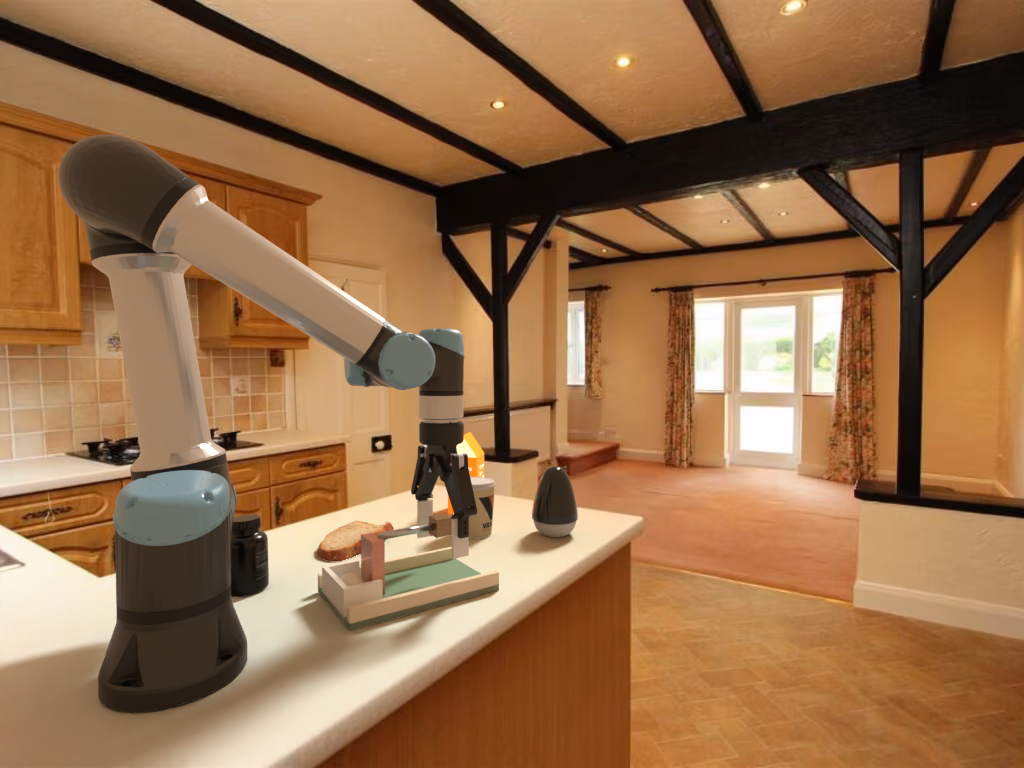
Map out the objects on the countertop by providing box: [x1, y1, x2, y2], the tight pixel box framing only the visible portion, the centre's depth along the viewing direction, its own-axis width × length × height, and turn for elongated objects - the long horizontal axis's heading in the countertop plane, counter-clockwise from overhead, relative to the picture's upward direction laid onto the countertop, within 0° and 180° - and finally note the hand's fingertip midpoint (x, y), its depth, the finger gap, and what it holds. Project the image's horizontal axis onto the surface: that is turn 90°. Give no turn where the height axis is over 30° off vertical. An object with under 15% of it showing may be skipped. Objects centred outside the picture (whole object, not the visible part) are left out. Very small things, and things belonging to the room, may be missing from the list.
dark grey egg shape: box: [531, 465, 579, 538], centre depth 121 cm, size 10×10×15 cm
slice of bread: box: [317, 520, 395, 562], centre depth 115 cm, size 18×18×4 cm
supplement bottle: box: [231, 513, 270, 598], centre depth 90 cm, size 7×7×12 cm
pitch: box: [317, 546, 500, 632], centre depth 90 cm, size 25×16×5 cm, turn 125°
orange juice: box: [447, 431, 485, 514], centre depth 142 cm, size 8×9×20 cm
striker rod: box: [360, 513, 452, 595], centre depth 90 cm, size 14×5×10 cm, turn 125°
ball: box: [341, 573, 364, 586], centre depth 84 cm, size 4×4×4 cm
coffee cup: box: [469, 476, 496, 540], centre depth 121 cm, size 9×9×12 cm
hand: (441, 546), depth 93 cm, fingers open, 12 cm apart
